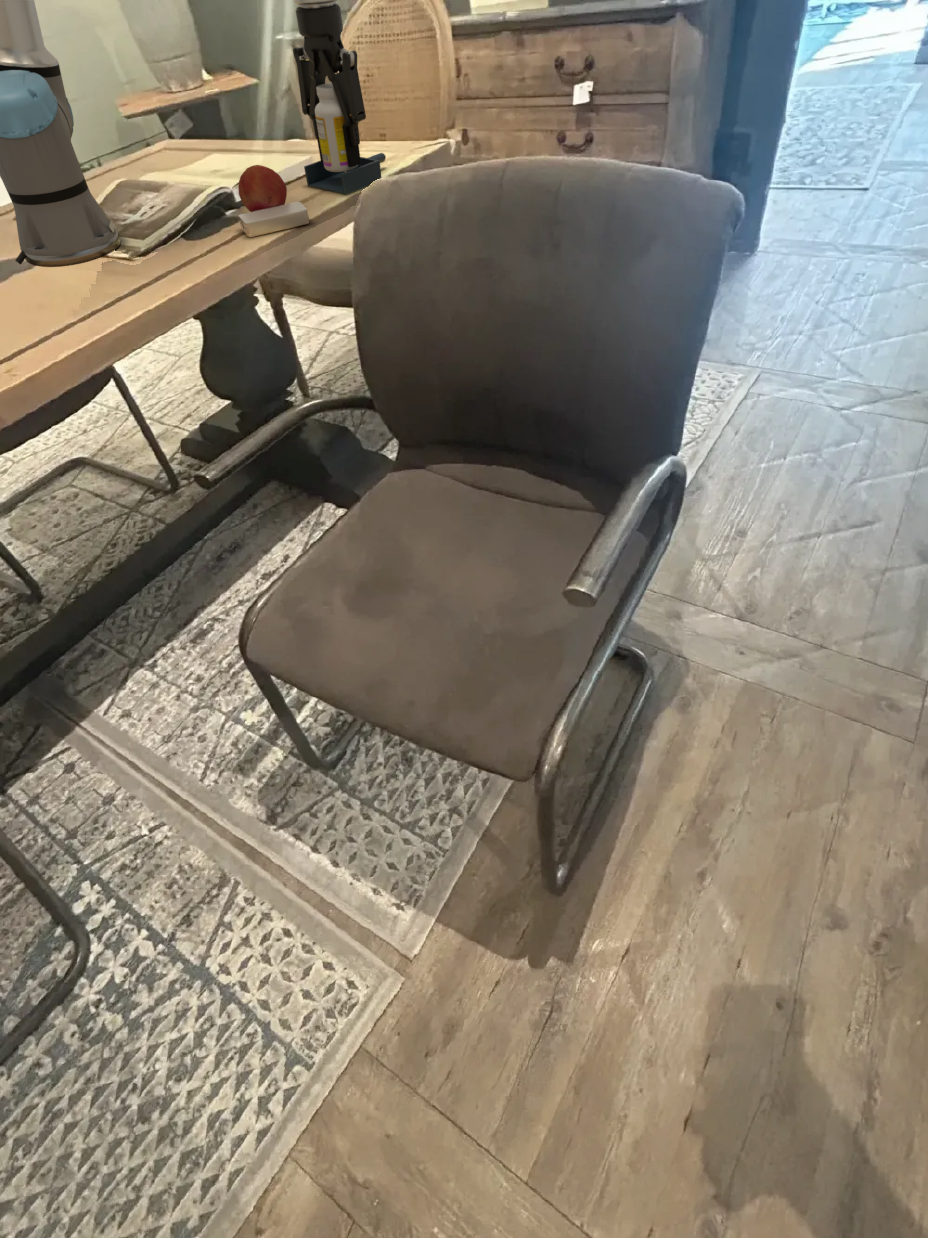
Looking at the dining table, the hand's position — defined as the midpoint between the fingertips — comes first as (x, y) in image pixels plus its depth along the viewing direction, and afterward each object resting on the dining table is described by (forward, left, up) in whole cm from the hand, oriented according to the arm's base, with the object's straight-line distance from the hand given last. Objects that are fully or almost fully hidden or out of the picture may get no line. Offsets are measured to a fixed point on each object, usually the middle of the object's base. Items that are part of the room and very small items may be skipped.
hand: (340, 162), depth 136 cm
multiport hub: (-19, -16, -1) cm, 25 cm away
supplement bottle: (0, 0, -1) cm, 1 cm away
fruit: (-16, -7, +3) cm, 18 cm away
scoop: (+3, +2, -4) cm, 5 cm away
